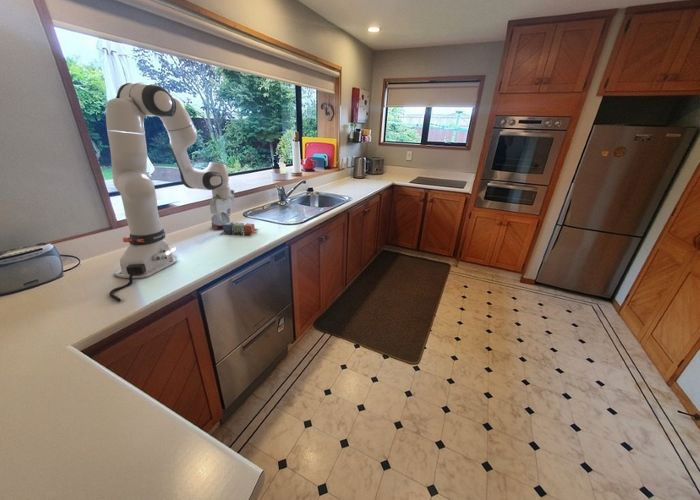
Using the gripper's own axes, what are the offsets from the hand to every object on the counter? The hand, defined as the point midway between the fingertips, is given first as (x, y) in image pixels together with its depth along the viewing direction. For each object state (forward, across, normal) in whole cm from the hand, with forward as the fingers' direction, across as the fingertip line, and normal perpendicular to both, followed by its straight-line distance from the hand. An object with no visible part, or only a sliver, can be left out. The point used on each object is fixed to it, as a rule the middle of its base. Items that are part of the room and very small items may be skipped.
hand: (224, 218), depth 154 cm
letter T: (+8, +2, -1) cm, 8 cm away
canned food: (+9, +8, +7) cm, 14 cm away
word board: (+8, +2, -7) cm, 11 cm away
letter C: (+8, +2, -13) cm, 15 cm away
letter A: (+8, +2, -7) cm, 10 cm away
